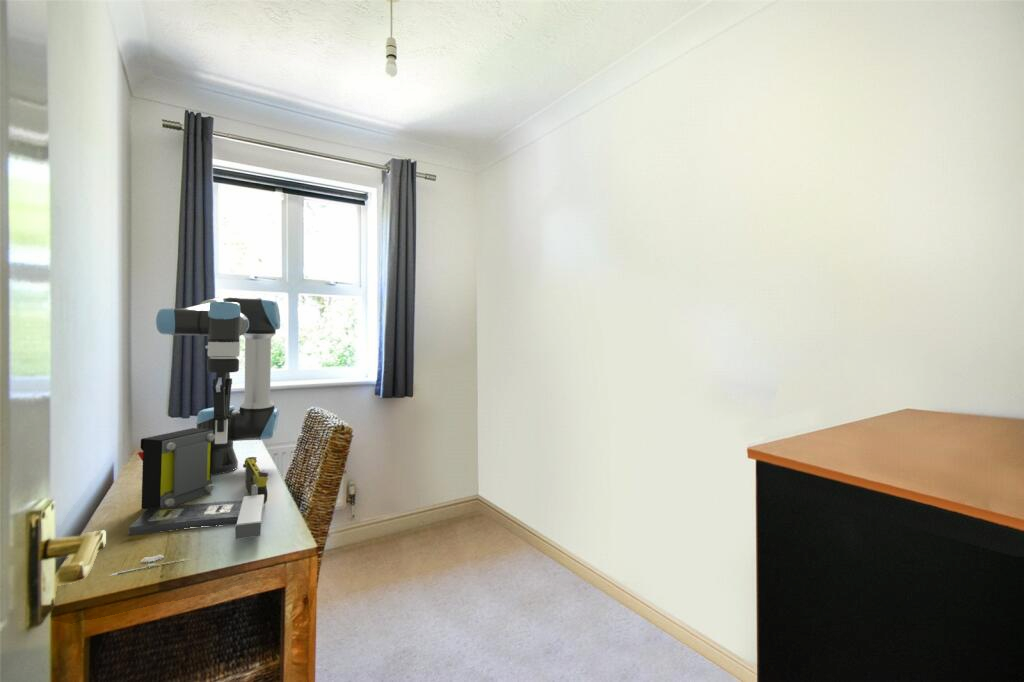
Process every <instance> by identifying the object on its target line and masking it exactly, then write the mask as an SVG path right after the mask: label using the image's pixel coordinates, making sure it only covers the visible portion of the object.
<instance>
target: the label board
mask: <svg viewBox="0 0 1024 682" xmlns="http://www.w3.org/2000/svg"><path fill="white" fill-rule="evenodd" d="M253 495H258V485H257V484H255V485H251V496H253ZM242 501H243V499H238V500H237V499H236V500H227V501H214V502H213V501H212V502H205V503H203V502H202V503H191V504H181V505H180V504H177V505H174V506H167V507H156V508H148V509H147V510H146V509H145V511H144V512H143V513H142V514H141V515H140V516H138V518H136V520H135V521H133V522H132V523H131V524H130V526H128V536H134V535H135V534H136V535H144V533H146V534H154V532H155V533H161V532H160V531H165V532H170V531H169V530H175V531H177V530H176V529H184V528H190V527H201V526H213V527H220V526H219V525H223V526H233V525H236V524H237V521H238V517H239V513H240V509H241V505H242ZM216 525H217V526H216ZM184 530H185V529H184ZM136 535H135V536H136Z"/></svg>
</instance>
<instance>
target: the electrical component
mask: <svg viewBox="0 0 1024 682" xmlns="http://www.w3.org/2000/svg"><path fill="white" fill-rule="evenodd" d="M214 439H215V435H214V434H213V430H212V429H200V428H197V427H191V428H186V429H183V430H177V431H172V432H168V433H163V434H158V435H153V436H148V437H143V438H141V439H140V446H139V447H140V449H141V451H138V452H137V455H138V457H139V458H140V459H141V461H142V475H141V476H142V477H141V479H142V480H141V510H146V509H148V508H156V507H167V506H178V505H180V504H182V503H186V502H188V501H190V500H193V499H196V498H199V497H201V496H204V495H207V494H209V493H211V492H213V490H214V487H215V486H214V485H213V481H212V475H211V460H212V441H213V440H214Z"/></svg>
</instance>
